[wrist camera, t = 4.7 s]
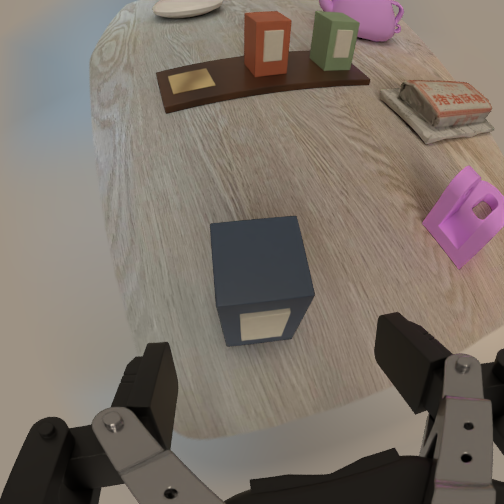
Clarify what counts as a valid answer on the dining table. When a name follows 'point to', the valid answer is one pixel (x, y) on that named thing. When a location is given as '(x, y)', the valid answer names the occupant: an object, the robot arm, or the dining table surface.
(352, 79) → the brown board
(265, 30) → the orange block
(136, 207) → the dining table surface
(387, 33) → the teapot
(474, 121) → the packaged product
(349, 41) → the green block
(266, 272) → the navy box with label
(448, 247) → the bracket
